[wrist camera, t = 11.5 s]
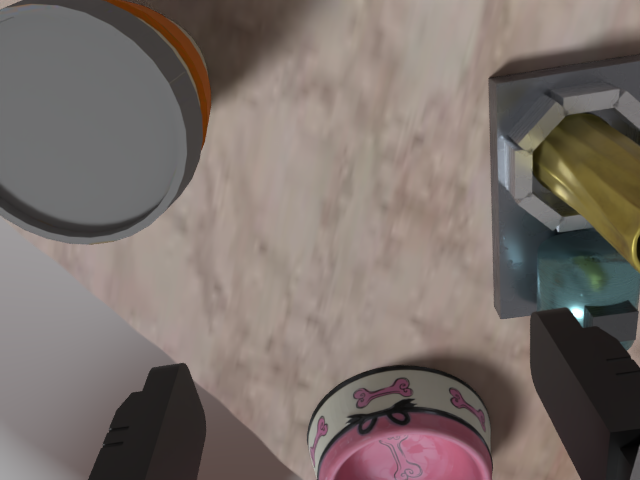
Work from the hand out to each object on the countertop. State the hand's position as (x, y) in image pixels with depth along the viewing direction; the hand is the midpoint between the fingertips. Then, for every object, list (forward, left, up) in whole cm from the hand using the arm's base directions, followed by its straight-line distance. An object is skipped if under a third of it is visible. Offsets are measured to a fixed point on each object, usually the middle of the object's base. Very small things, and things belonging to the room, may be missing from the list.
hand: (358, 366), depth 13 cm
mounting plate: (+11, +17, -32) cm, 37 cm away
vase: (+7, +17, -30) cm, 35 cm away
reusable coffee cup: (-3, -13, -32) cm, 35 cm away
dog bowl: (+36, +2, -32) cm, 48 cm away
